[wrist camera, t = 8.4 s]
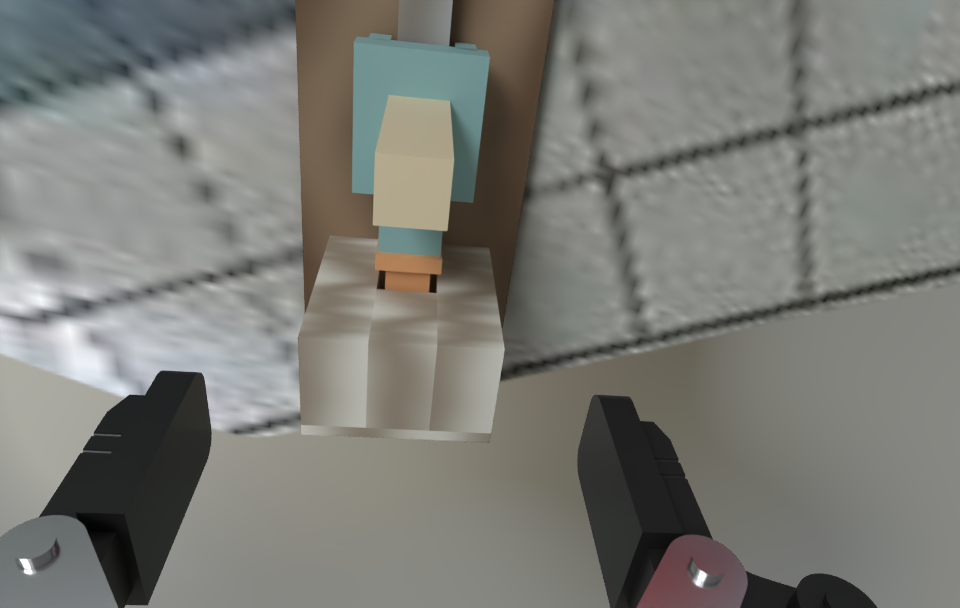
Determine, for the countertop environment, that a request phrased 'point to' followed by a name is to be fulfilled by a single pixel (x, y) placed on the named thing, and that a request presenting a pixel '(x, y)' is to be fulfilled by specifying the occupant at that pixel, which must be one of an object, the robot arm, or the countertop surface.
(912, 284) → the countertop surface
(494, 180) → the rail bench
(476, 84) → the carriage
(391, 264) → the button
